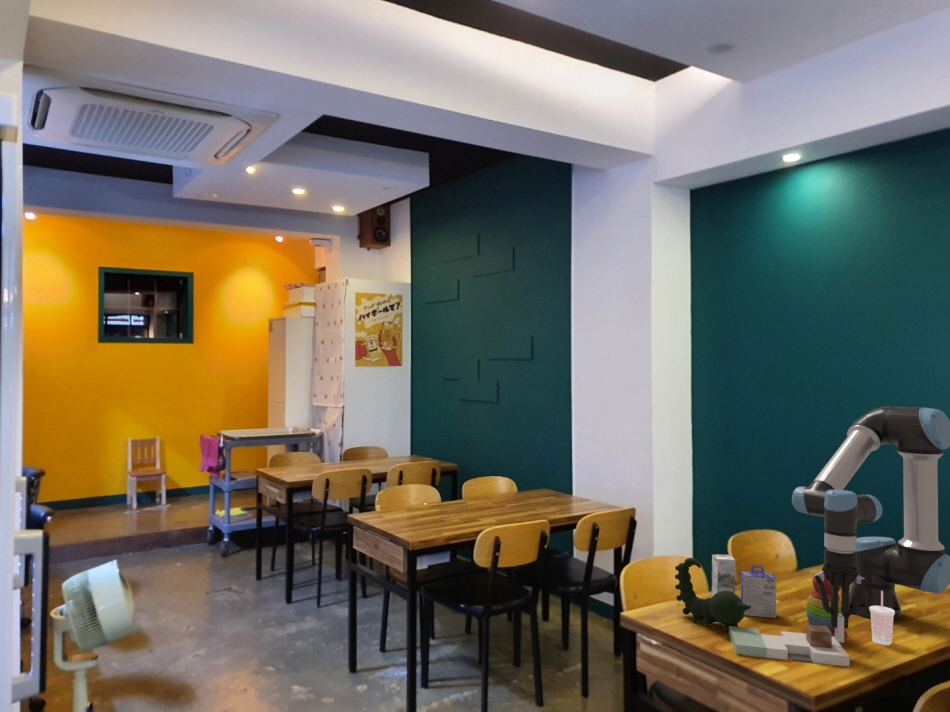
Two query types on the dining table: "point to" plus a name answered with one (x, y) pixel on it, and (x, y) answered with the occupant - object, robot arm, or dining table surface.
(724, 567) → the syrup box
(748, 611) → the ink cartridge box
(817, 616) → the stacking bear
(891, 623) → the beverage cup
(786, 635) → the trap deck
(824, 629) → the walnut block
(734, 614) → the toy figurine
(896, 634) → the dining table surface
